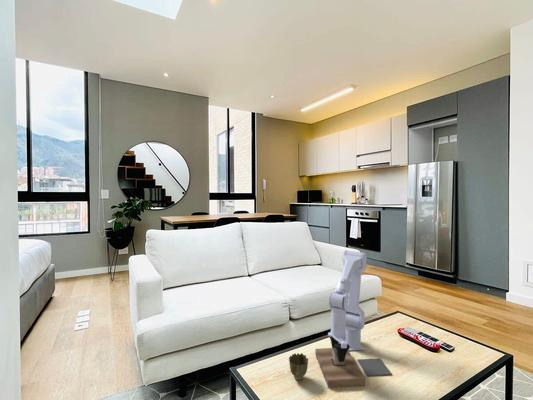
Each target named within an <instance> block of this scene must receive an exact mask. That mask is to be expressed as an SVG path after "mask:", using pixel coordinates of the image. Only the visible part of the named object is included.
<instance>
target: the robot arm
mask: <svg viewBox="0 0 533 400" xmlns="http://www.w3.org/2000/svg"><path fill="white" fill-rule="evenodd" d="M367 259H368V258H367V254H366V252H359V251H353V250H352V251H351V250H344V251H343V252H342V263H343V266H344V267H343V271H342V275H341V277H339V278H338V279H337V282H336V285H335V288H334V290H333V293H332V292H331V293H330V294H329V298H328V304H329V305H328V306H329V310H330V314H331V315H330V318H331V319H330V320H331V321H330V322H331V323H330V331H327V335H328V337H329V339H330V344H331V348H336V350H337V356H338V361H339V362H344V360H345V356H346V353H347V351H349V352H352V351H364V350H365V348H364V346H363V345H362V343H361V341H362V340H361V339H362V335H361V334H362V330H363V329H364V327H365V323H366V318H365V314H366V313H365V311H364V310H363V309H362V308H361V307H360V293H361V281H362V272H363V271H366V269H367V261H368V260H367Z"/></svg>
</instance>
